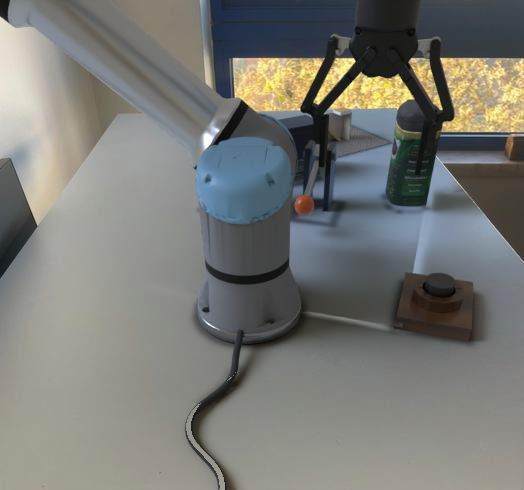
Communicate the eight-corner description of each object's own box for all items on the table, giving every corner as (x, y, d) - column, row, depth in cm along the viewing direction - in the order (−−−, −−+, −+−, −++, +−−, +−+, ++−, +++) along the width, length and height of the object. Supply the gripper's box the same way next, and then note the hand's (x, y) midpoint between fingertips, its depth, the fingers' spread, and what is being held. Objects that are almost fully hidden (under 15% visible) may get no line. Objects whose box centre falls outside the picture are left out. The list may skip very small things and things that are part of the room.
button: (452, 300, 72) (455, 290, 71) (422, 295, 73) (425, 285, 72) (453, 285, 75) (456, 274, 74) (425, 280, 76) (427, 270, 74)
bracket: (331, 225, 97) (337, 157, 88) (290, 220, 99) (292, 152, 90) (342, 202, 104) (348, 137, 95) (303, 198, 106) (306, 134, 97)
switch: (312, 220, 90) (311, 207, 87) (293, 218, 91) (291, 204, 88) (331, 157, 96) (330, 143, 93) (313, 155, 96) (312, 141, 93)
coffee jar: (430, 212, 100) (451, 111, 88) (389, 212, 100) (404, 111, 88) (420, 191, 107) (438, 95, 95) (381, 191, 108) (395, 95, 95)
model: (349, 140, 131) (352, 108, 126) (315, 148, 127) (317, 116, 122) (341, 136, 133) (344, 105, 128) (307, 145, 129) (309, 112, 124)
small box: (305, 168, 117) (307, 113, 110) (320, 179, 113) (323, 122, 105) (252, 179, 113) (250, 123, 105) (266, 191, 109) (265, 132, 101)
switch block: (467, 342, 71) (475, 318, 68) (394, 328, 73) (398, 306, 70) (469, 293, 79) (476, 271, 77) (403, 283, 82) (407, 261, 79)
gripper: (500, -15, 61) (459, 164, 74) (292, -16, 66) (290, 151, 80) (505, -6, 55) (460, 185, 69) (279, -8, 60) (279, 170, 74)
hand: (369, 167), depth 74 cm, fingers open, 13 cm apart
